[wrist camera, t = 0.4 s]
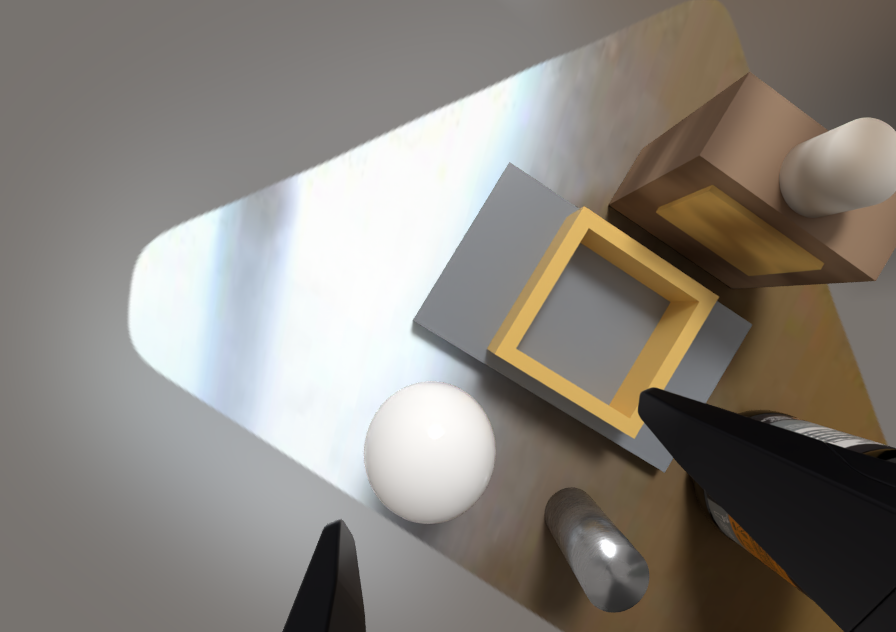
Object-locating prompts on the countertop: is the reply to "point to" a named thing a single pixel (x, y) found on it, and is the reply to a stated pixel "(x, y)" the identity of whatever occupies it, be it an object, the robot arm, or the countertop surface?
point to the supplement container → (803, 427)
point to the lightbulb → (429, 452)
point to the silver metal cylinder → (596, 551)
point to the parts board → (579, 312)
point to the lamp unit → (768, 192)
